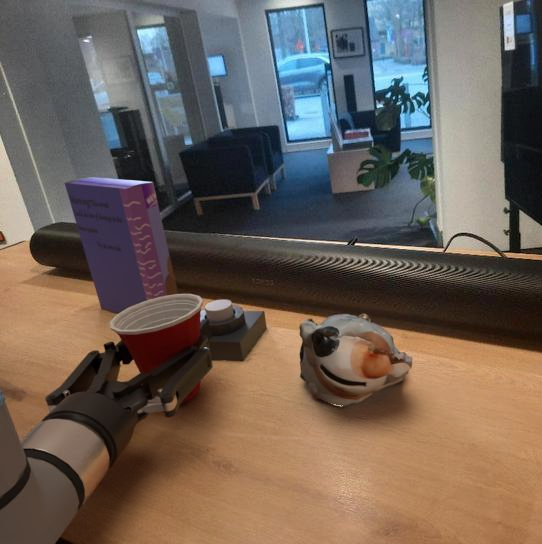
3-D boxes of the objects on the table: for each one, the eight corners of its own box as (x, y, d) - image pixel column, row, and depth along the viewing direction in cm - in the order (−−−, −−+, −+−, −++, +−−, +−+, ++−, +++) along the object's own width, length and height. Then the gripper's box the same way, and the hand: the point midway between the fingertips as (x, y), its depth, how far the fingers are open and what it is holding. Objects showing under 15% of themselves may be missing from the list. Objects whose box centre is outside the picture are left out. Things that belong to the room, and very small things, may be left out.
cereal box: (183, 315, 87) (152, 180, 78) (160, 327, 84) (125, 187, 75) (124, 298, 96) (91, 175, 87) (101, 308, 93) (64, 181, 84)
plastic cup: (178, 362, 71) (160, 285, 67) (236, 377, 66) (221, 296, 62) (112, 405, 62) (87, 320, 58) (174, 427, 57) (151, 336, 53)
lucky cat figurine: (419, 362, 68) (435, 302, 58) (387, 440, 61) (399, 388, 50) (321, 323, 71) (319, 260, 61) (280, 393, 64) (270, 335, 54)
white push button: (202, 322, 74) (200, 310, 73) (214, 310, 78) (211, 299, 77) (227, 323, 73) (225, 310, 73) (238, 311, 77) (236, 299, 76)
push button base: (167, 358, 74) (160, 329, 72) (199, 326, 83) (193, 299, 81) (243, 361, 72) (237, 331, 70) (267, 328, 81) (262, 300, 79)
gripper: (-16, 479, 47) (112, 354, 69) (189, 480, 46) (256, 351, 67) (-45, 415, 45) (98, 306, 66) (172, 413, 43) (247, 301, 64)
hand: (177, 329), depth 66 cm, fingers closed on plastic cup, 8 cm apart
